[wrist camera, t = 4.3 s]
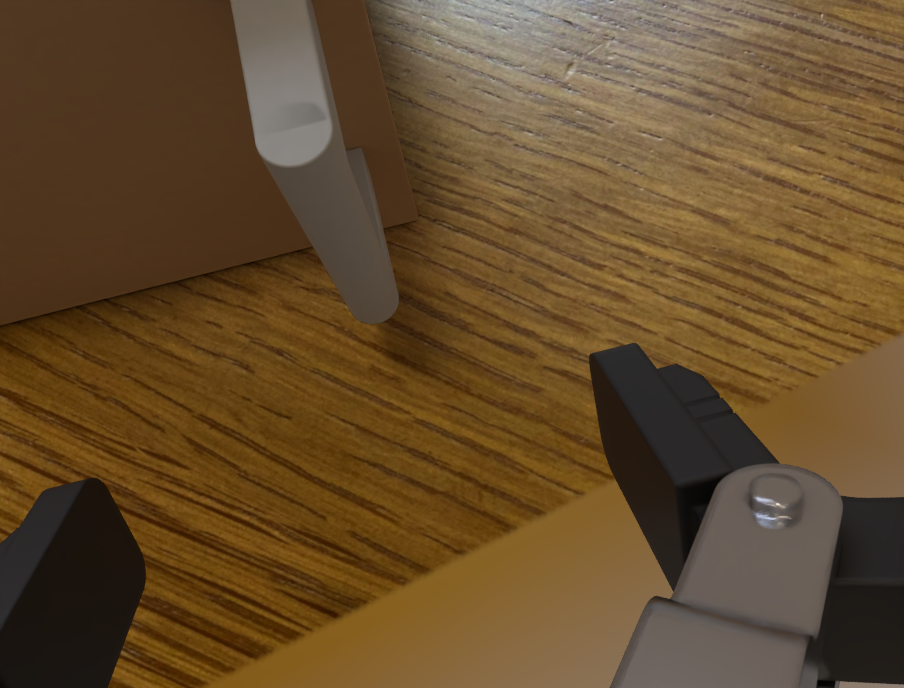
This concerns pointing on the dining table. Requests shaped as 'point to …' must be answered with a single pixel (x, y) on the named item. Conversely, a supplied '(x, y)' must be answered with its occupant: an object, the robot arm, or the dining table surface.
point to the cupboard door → (192, 147)
